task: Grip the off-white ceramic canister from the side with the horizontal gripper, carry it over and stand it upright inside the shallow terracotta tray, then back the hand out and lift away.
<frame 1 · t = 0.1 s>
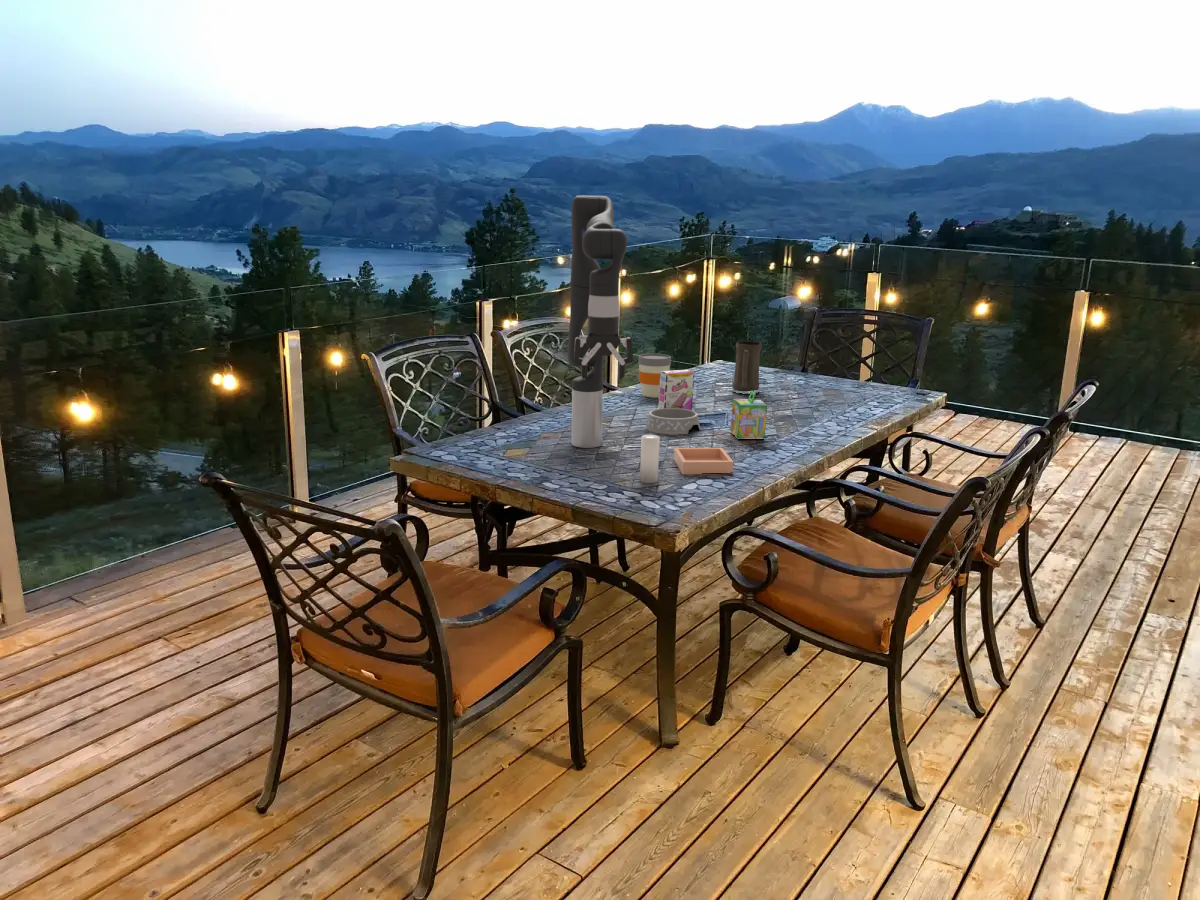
hand: (602, 379, 218), 29 cm above the table, tool pointing down, fingers open, 8 cm apart
chalk box: (747, 437, 281), on the table
reusable coffee cup: (653, 395, 338), on the table
ceramic canister: (648, 480, 235), on the table
dog bowl: (672, 429, 290), on the table
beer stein: (745, 393, 345), on the table
terracotta tray: (702, 466, 248), on the table
candy bar box: (675, 418, 303), on the table
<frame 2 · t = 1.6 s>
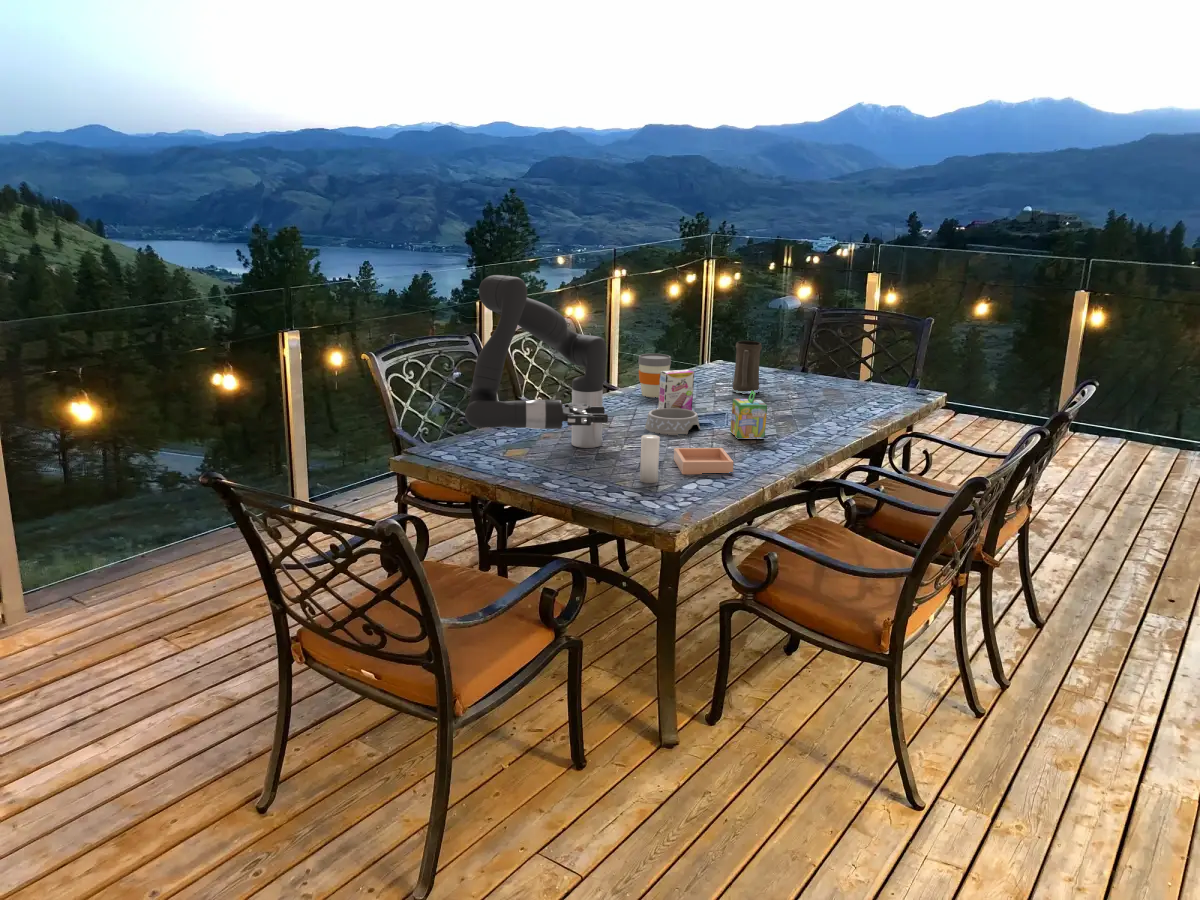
hand: (605, 414, 229), 18 cm above the table, tool horizontal, fingers open, 8 cm apart
nothing on the table moved.
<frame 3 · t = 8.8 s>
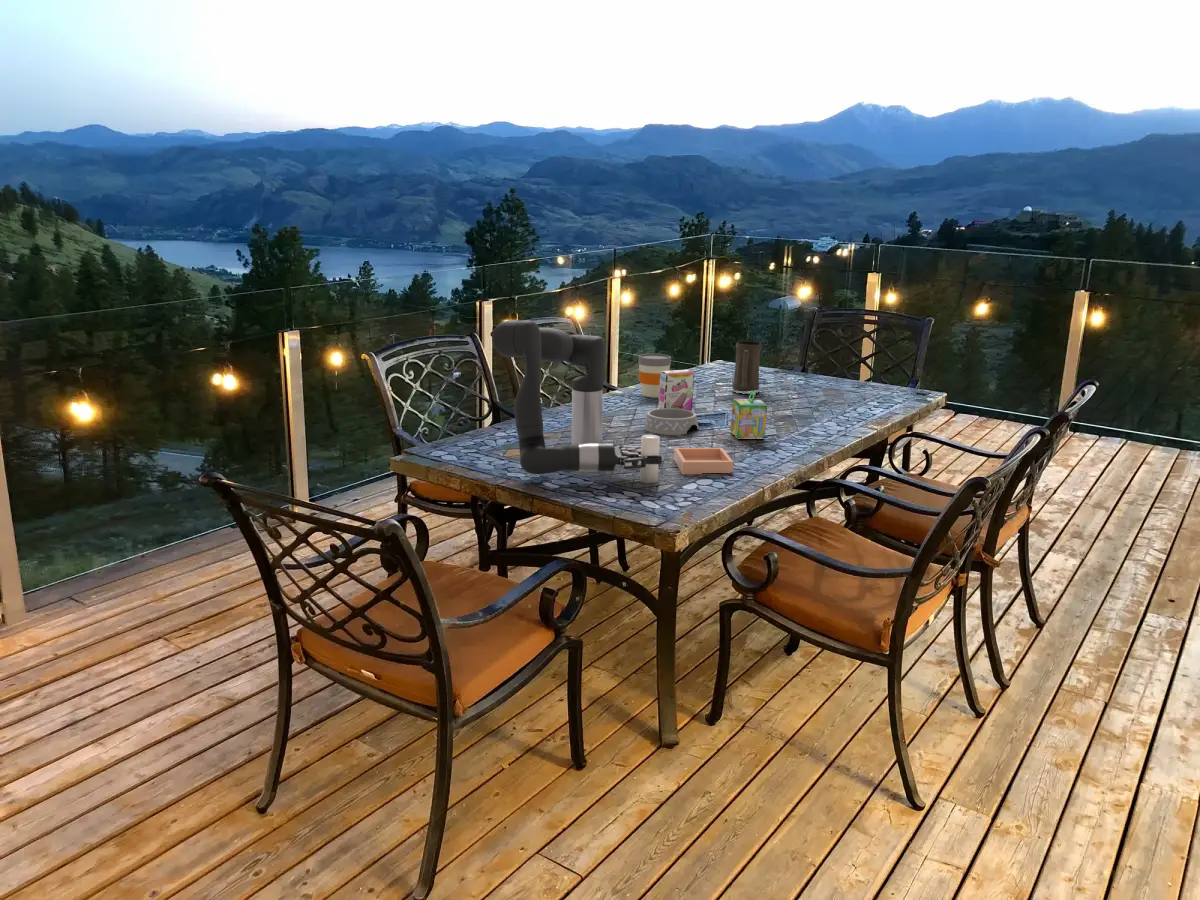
hand: (659, 456, 234), 7 cm above the table, tool horizontal, fingers closed on ceramic canister, 4 cm apart
ceramic canister: (648, 480, 235), on the table, touching gripper
everything else where it was.
when the fingers open (8 cm above the table, at t = 19.1 s): ceramic canister stays where it is, resting on terracotta tray.
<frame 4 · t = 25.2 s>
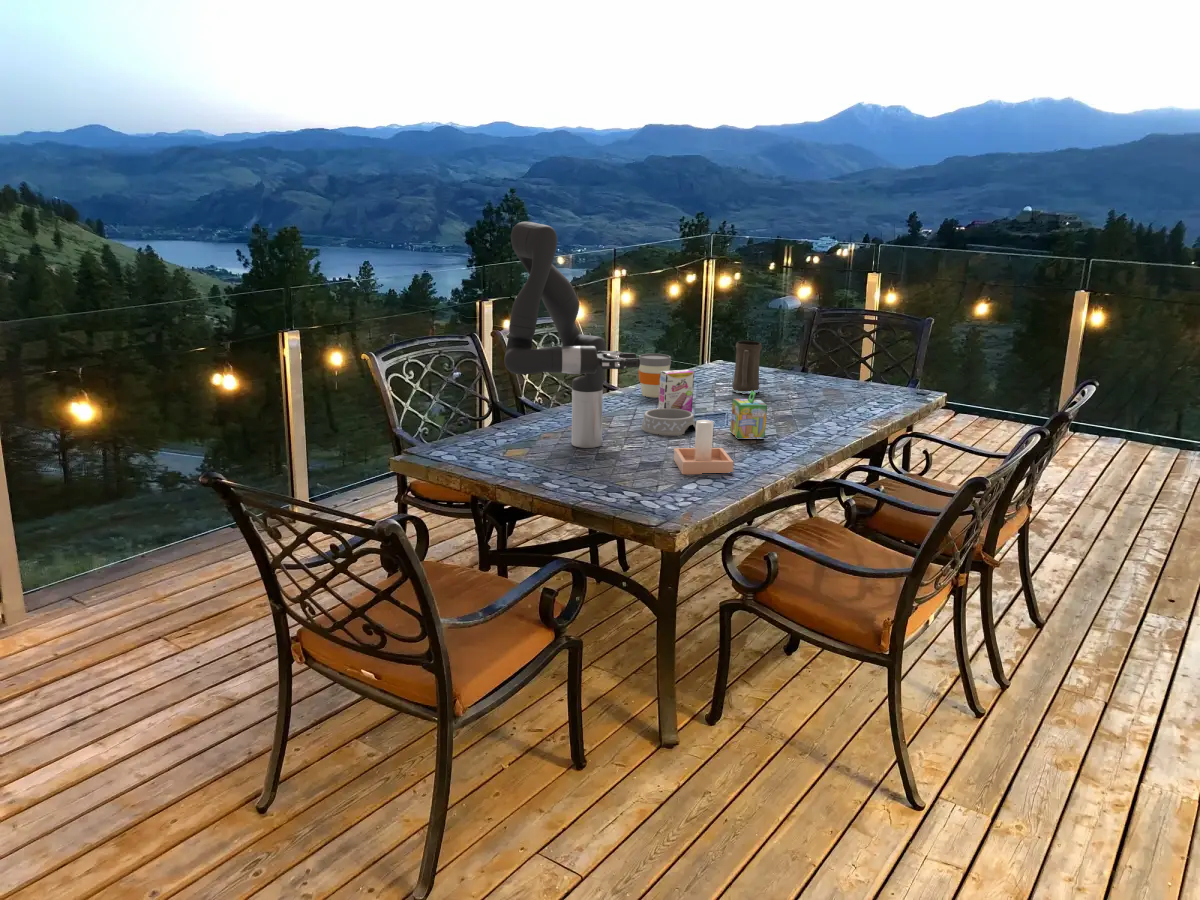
hand: (637, 359, 240), 30 cm above the table, tool horizontal, fingers open, 8 cm apart
ceramic canister: (702, 463, 248), point 1 cm above the table, touching terracotta tray
at the end: ceramic canister inside the target area on the terracotta tray (0.0 cm from its centre), point 1.0 cm above the terracotta tray's base; ceramic canister tilted 0°; the gripper is holding nothing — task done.
